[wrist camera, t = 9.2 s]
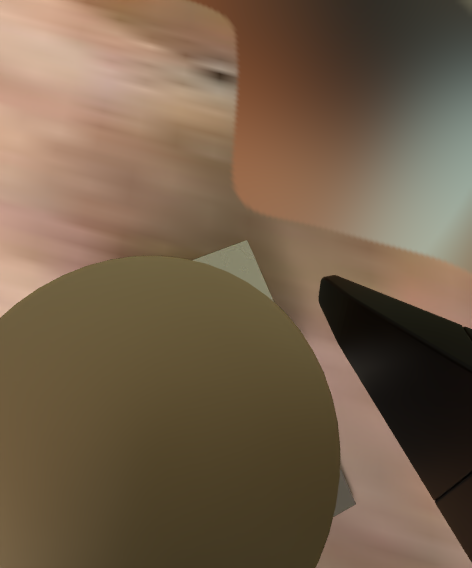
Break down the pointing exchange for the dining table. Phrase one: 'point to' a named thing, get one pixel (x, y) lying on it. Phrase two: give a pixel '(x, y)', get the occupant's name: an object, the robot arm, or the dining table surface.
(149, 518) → the pin
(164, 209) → the dining table surface
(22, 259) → the dining table surface
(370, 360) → the robot arm
